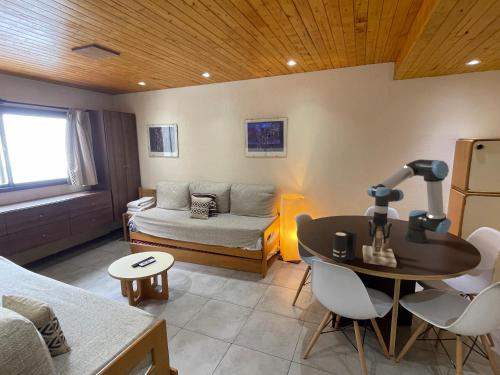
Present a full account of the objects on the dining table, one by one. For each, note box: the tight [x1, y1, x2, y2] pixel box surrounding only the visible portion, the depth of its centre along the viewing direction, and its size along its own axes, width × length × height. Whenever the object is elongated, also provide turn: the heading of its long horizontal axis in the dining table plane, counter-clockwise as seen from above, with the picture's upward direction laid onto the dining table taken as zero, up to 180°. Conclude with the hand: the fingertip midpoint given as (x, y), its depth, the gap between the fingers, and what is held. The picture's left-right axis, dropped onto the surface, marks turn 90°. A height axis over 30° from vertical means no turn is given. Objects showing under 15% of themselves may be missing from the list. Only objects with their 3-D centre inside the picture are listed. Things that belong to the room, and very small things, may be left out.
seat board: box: [362, 233, 397, 268], centre depth 165 cm, size 18×22×14 cm
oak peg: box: [374, 228, 383, 252], centre depth 162 cm, size 4×4×14 cm
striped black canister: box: [332, 228, 357, 264], centre depth 163 cm, size 10×14×18 cm
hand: (377, 247), depth 163 cm, fingers closed on oak peg, 4 cm apart
